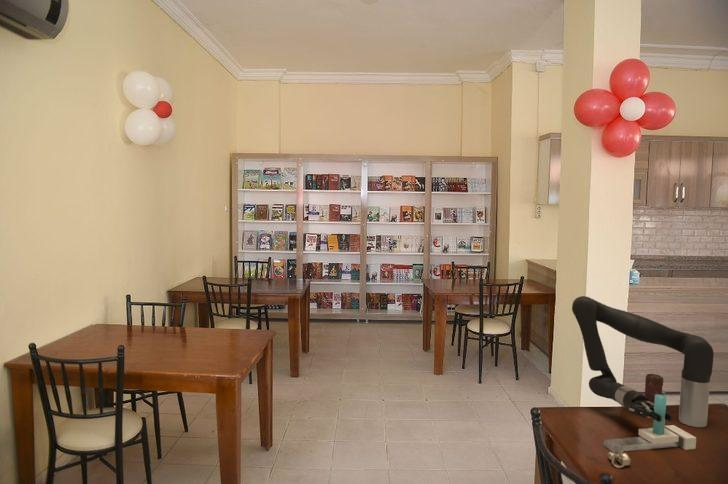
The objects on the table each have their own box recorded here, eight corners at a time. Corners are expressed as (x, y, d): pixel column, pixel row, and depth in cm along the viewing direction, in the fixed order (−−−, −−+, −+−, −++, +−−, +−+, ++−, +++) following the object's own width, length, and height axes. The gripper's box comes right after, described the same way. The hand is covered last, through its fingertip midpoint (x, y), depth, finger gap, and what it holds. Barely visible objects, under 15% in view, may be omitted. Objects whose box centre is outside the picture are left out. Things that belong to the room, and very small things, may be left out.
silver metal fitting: (612, 455, 172) (613, 444, 171) (634, 463, 167) (635, 452, 166) (602, 463, 166) (603, 452, 166) (625, 471, 161) (625, 460, 161)
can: (663, 412, 207) (666, 379, 206) (646, 411, 208) (648, 377, 207) (658, 407, 213) (660, 374, 211) (641, 405, 214) (643, 372, 213)
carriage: (662, 432, 184) (665, 391, 182) (678, 441, 177) (681, 399, 176) (638, 434, 182) (640, 393, 181) (652, 443, 175) (655, 401, 174)
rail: (667, 439, 183) (667, 434, 183) (678, 446, 178) (678, 440, 178) (603, 445, 178) (603, 439, 178) (613, 452, 173) (613, 446, 173)
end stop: (672, 435, 186) (673, 425, 186) (695, 448, 177) (696, 437, 176) (661, 436, 185) (662, 425, 185) (684, 449, 176) (684, 438, 175)
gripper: (614, 390, 191) (648, 409, 174) (648, 388, 194) (684, 406, 177) (613, 410, 192) (647, 430, 175) (646, 408, 194) (683, 427, 177)
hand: (665, 418), depth 176 cm, fingers closed on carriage, 3 cm apart
